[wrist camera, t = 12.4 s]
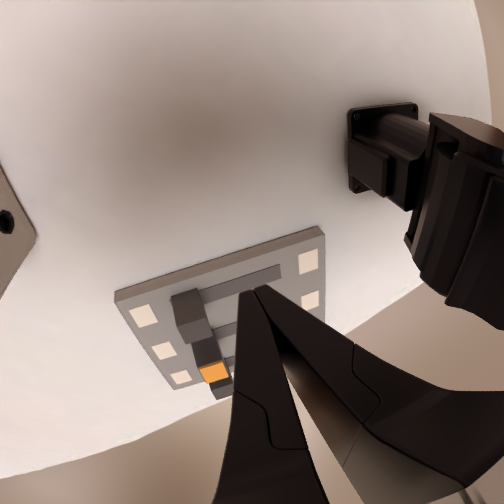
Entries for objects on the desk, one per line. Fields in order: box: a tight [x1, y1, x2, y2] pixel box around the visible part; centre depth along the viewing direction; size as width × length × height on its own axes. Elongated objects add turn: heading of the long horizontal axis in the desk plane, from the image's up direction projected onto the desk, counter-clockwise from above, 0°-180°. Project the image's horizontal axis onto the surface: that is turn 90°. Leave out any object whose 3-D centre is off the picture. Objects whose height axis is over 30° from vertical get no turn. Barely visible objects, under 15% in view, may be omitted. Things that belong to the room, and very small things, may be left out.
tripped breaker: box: [191, 330, 229, 384], centre depth 24 cm, size 2×2×3 cm
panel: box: [114, 226, 325, 400], centre depth 26 cm, size 16×13×4 cm
